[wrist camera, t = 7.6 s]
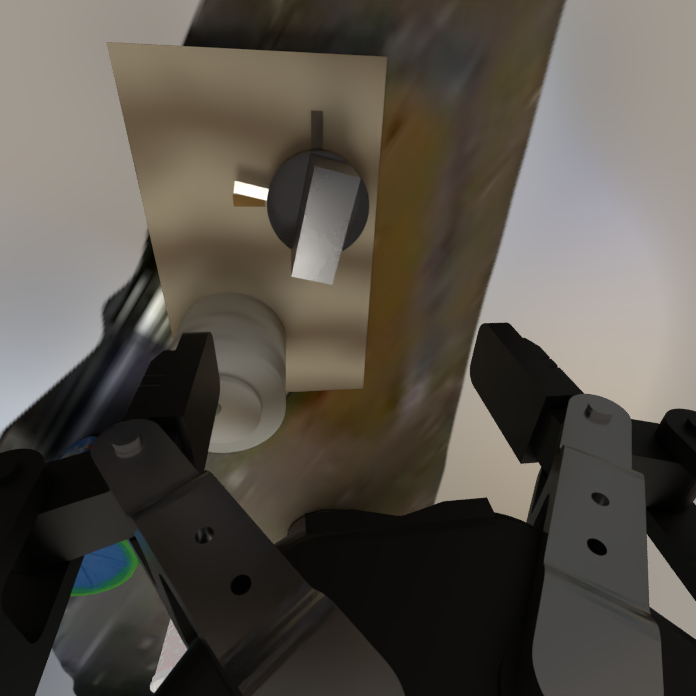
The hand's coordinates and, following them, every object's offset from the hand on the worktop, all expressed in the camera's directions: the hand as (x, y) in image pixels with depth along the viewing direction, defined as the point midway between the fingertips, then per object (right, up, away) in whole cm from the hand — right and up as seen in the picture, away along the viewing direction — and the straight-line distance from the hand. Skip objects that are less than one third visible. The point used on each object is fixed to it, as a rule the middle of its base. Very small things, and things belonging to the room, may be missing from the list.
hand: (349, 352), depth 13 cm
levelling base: (-6, +7, +18) cm, 21 cm away
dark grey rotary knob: (-3, +10, +14) cm, 18 cm away
